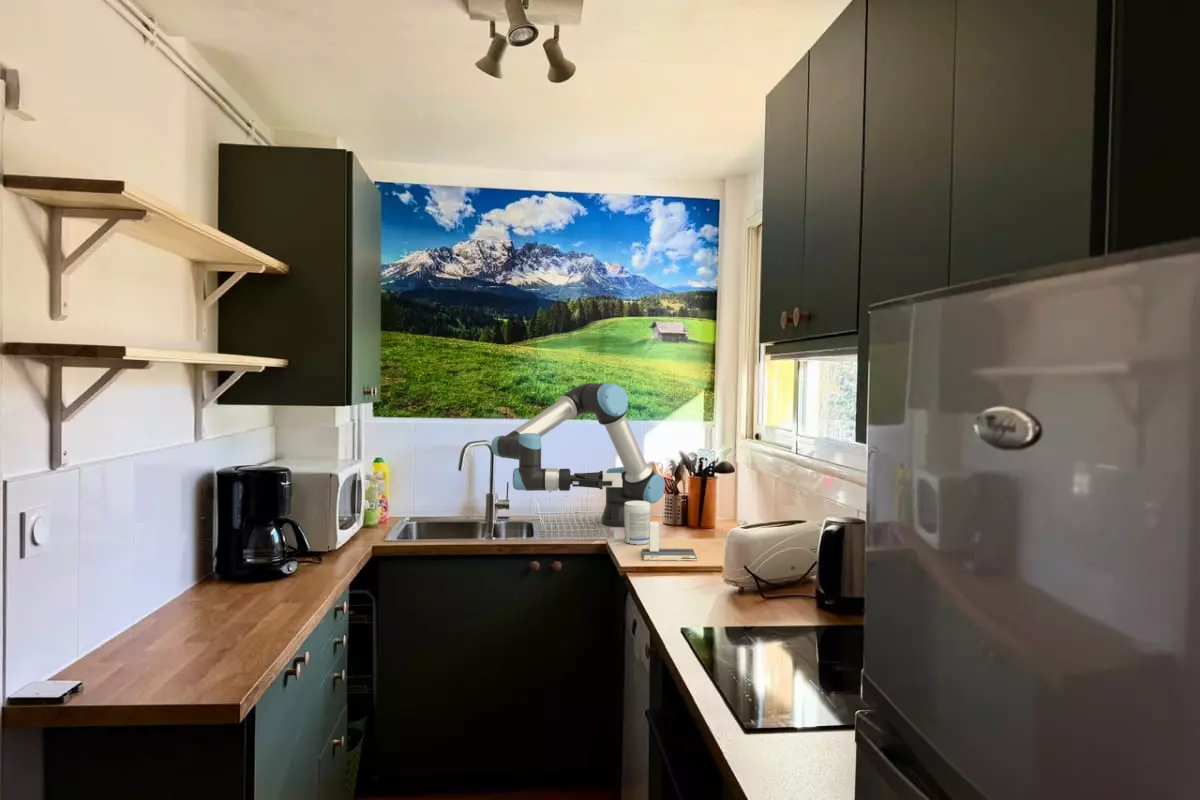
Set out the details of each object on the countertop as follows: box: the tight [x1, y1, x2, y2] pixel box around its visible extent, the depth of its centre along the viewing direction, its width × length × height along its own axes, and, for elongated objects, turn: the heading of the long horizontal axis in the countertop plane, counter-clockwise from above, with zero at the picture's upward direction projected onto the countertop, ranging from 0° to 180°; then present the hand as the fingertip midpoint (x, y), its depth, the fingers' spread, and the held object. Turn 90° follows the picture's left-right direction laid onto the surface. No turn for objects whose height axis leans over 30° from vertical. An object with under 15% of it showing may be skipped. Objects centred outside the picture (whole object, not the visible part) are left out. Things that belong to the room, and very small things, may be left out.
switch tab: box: [648, 521, 660, 552], centre depth 249 cm, size 5×3×10 cm, turn 179°
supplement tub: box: [624, 501, 651, 546], centre depth 268 cm, size 10×10×15 cm
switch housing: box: [641, 547, 698, 560], centre depth 249 cm, size 12×18×2 cm, turn 89°
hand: (622, 479), depth 248 cm, fingers open, 12 cm apart
